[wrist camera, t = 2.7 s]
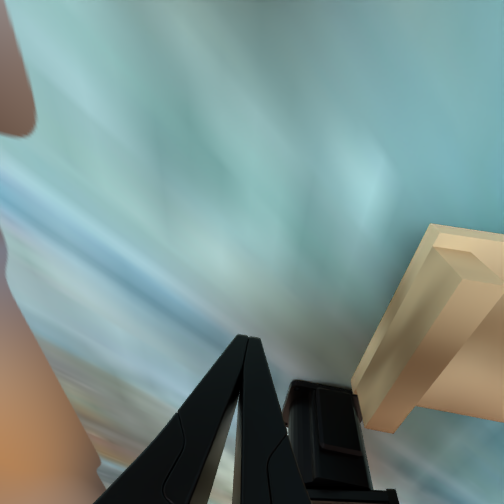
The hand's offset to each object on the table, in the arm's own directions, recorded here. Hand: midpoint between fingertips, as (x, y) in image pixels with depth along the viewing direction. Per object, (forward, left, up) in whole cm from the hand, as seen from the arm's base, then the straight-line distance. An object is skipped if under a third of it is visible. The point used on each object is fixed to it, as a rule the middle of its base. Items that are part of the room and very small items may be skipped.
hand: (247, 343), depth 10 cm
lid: (0, -11, -2) cm, 11 cm away
